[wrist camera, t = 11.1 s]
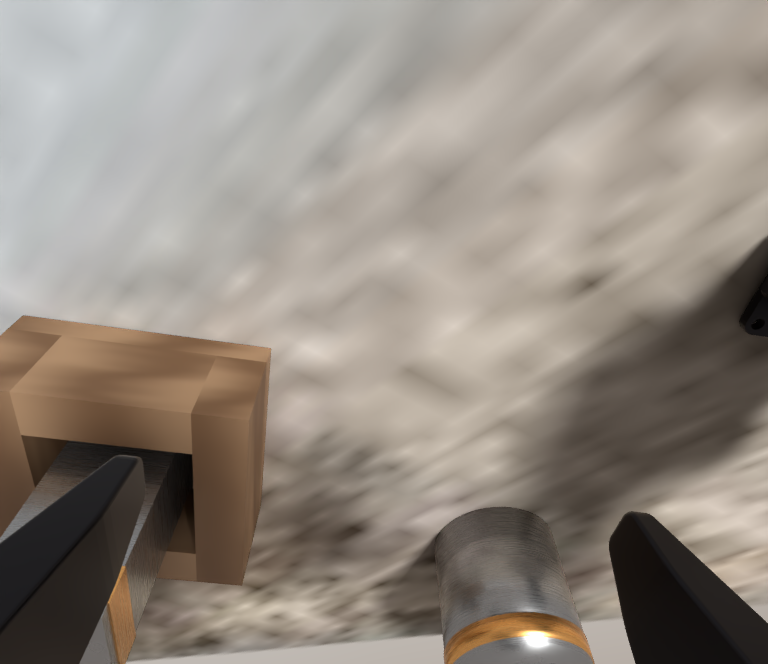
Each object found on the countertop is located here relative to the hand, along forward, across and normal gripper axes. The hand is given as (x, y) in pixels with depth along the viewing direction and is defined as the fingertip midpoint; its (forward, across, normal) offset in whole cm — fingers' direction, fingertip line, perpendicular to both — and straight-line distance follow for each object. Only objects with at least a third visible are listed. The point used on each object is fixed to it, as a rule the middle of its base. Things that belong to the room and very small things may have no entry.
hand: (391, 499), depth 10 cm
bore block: (+12, +9, +10) cm, 18 cm away
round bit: (+12, -9, +17) cm, 23 cm away
